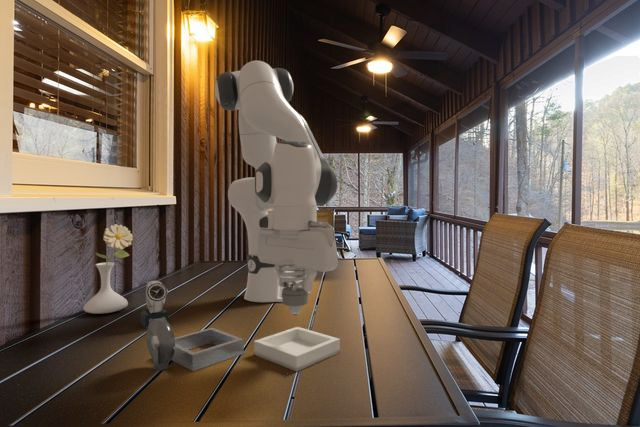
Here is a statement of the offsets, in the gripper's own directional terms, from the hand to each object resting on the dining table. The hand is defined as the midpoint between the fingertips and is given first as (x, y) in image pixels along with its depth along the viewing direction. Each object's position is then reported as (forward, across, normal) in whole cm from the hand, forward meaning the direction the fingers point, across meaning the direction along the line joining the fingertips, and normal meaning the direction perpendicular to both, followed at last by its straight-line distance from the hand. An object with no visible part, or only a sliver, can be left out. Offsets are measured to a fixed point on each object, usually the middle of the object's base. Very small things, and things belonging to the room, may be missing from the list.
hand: (295, 288), depth 82 cm
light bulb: (+6, 0, 0) cm, 6 cm away
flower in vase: (+14, +64, +13) cm, 67 cm away
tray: (+13, 0, 0) cm, 13 cm away
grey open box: (+13, +14, +15) cm, 24 cm away
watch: (+14, +42, +10) cm, 45 cm away
